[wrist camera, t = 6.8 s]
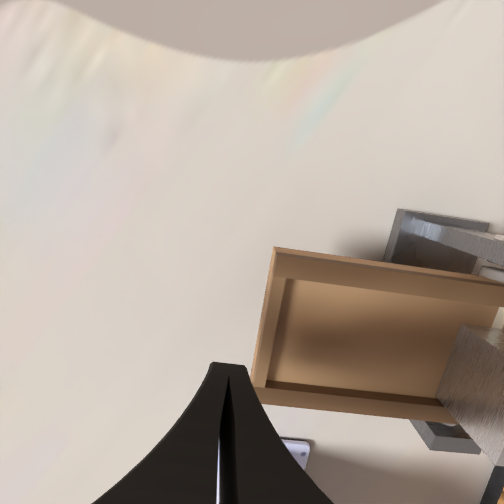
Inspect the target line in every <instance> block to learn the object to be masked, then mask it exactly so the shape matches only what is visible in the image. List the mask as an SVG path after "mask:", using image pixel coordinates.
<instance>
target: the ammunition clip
mask: <svg viewBox="0 0 504 504" xmlns="http://www.w3.org/2000/svg"><path fill="white" fill-rule="evenodd" d="M480 504H504V466H495V467H494V469H493V472H492V474H491V477H490V479H489V482H488V485H487V487H486V490H485V492H484V495H483V497H482V500H481V502H480Z"/></svg>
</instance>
